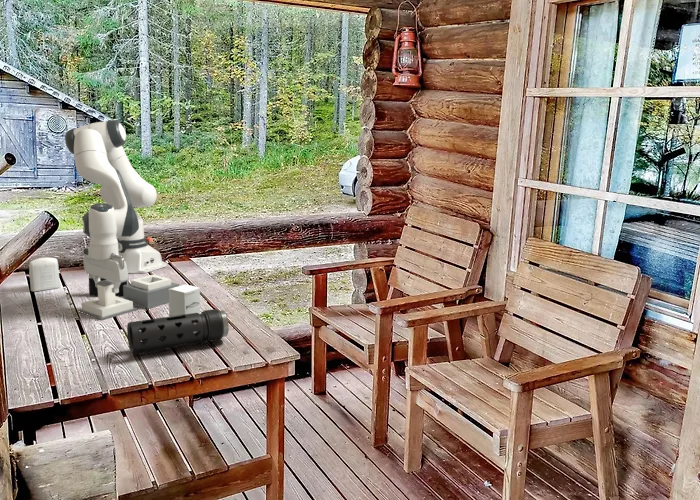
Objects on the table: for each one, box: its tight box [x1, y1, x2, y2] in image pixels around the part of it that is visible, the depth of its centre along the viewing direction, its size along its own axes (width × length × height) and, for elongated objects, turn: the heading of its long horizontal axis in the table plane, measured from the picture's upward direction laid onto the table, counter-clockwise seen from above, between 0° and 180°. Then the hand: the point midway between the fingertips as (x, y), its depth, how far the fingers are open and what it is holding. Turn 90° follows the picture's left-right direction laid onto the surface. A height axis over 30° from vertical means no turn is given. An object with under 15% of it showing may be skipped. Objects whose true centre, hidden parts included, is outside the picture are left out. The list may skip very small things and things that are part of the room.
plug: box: [97, 280, 116, 307], centre depth 205 cm, size 4×4×10 cm
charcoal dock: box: [123, 274, 180, 310], centre depth 218 cm, size 14×14×8 cm
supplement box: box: [168, 283, 201, 317], centre depth 195 cm, size 7×7×13 cm
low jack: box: [77, 296, 138, 321], centre depth 206 cm, size 14×14×3 cm
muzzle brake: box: [126, 308, 230, 356], centre depth 176 cm, size 10×28×10 cm, turn 121°
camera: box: [88, 270, 130, 297], centre depth 224 cm, size 14×9×10 cm, turn 89°
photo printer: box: [28, 257, 60, 292], centre depth 227 cm, size 10×4×12 cm, turn 134°
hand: (107, 290), depth 205 cm, fingers open, 8 cm apart
